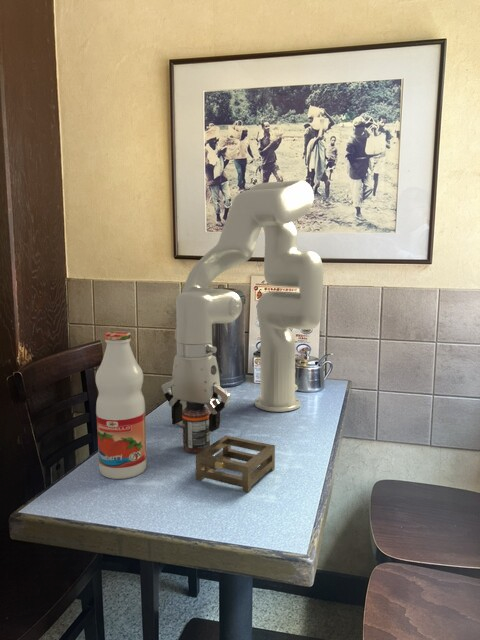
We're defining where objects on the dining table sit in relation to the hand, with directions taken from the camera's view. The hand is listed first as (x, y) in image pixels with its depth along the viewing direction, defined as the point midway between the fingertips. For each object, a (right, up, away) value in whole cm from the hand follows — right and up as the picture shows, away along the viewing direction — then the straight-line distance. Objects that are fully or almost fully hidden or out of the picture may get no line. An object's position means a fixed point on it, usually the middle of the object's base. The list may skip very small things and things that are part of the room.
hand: (195, 426), depth 115 cm
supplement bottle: (0, -5, +1) cm, 5 cm away
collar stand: (+9, -7, -12) cm, 16 cm away
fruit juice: (-14, -7, -9) cm, 18 cm away
